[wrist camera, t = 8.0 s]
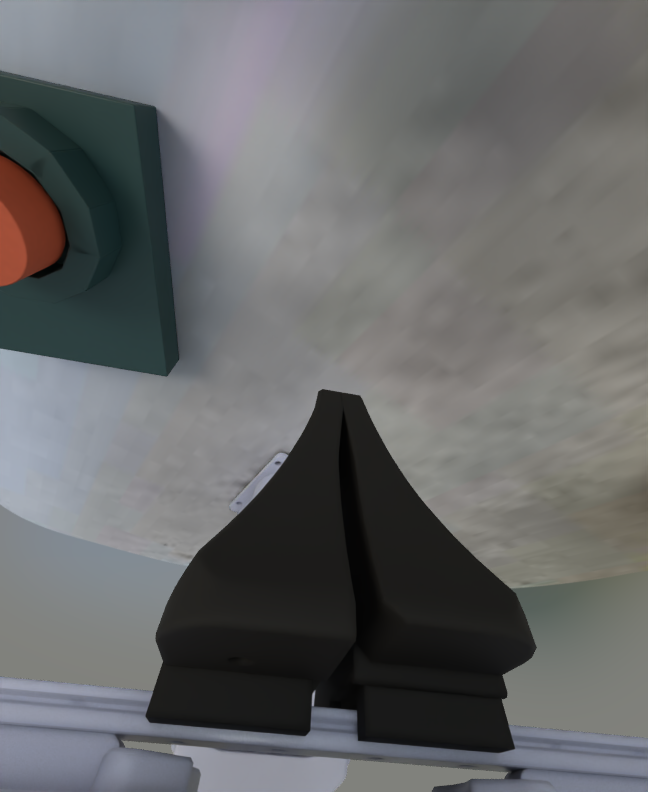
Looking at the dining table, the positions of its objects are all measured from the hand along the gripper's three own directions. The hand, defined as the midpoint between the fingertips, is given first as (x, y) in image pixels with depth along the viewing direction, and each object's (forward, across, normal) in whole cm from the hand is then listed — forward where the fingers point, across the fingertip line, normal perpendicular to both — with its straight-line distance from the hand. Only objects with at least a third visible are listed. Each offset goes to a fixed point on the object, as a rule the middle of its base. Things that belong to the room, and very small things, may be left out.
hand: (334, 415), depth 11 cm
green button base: (+10, +14, 0) cm, 18 cm away
